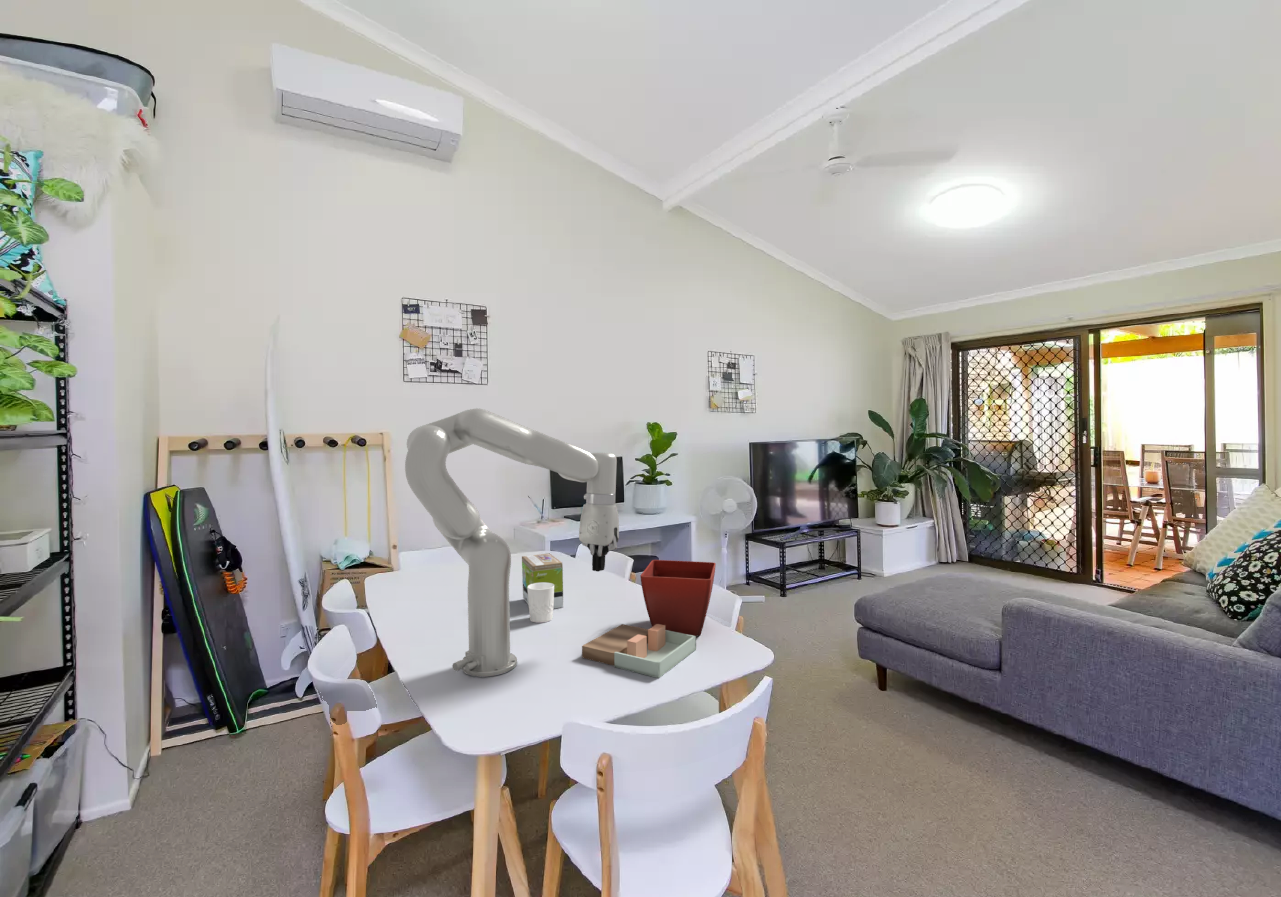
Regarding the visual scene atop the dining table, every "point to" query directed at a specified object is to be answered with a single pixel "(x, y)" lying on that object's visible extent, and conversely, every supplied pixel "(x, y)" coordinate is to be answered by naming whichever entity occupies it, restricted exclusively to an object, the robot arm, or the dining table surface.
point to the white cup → (541, 601)
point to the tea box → (543, 575)
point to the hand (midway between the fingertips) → (598, 570)
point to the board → (611, 643)
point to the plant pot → (678, 594)
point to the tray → (659, 656)
